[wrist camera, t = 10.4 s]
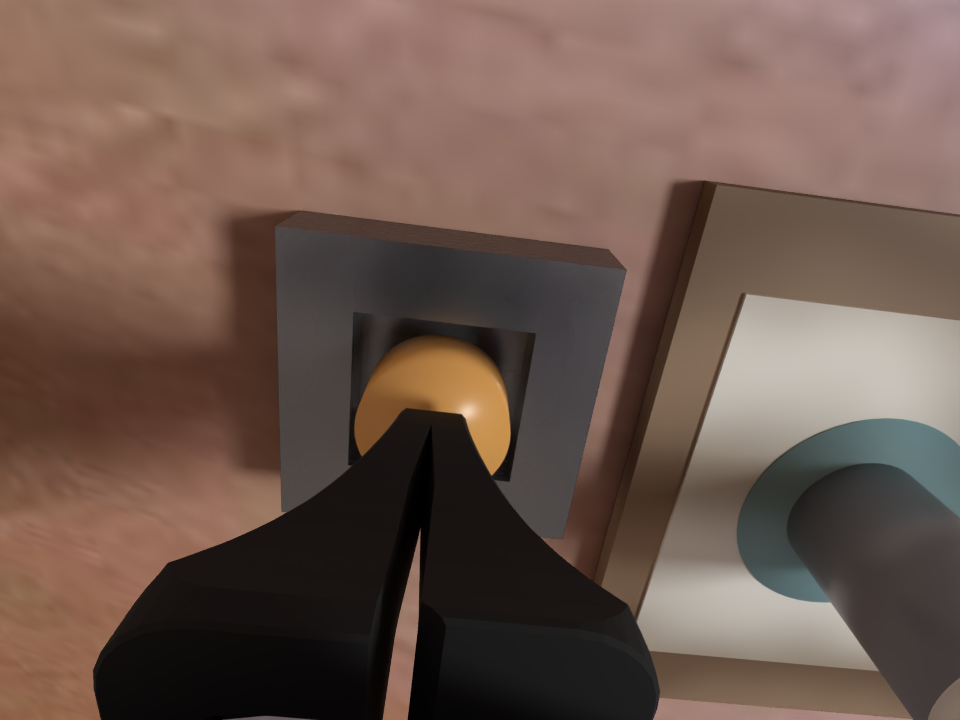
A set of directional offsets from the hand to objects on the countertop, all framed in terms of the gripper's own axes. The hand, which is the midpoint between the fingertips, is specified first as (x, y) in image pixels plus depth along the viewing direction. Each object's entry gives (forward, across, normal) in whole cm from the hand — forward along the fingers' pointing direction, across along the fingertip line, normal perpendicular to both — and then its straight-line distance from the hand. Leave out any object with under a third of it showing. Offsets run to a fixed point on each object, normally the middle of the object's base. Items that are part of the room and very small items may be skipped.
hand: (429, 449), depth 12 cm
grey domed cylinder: (+3, -13, +3) cm, 14 cm away
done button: (+2, 0, 0) cm, 2 cm away
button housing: (+4, 0, 0) cm, 4 cm away
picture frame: (+4, -13, +3) cm, 14 cm away
